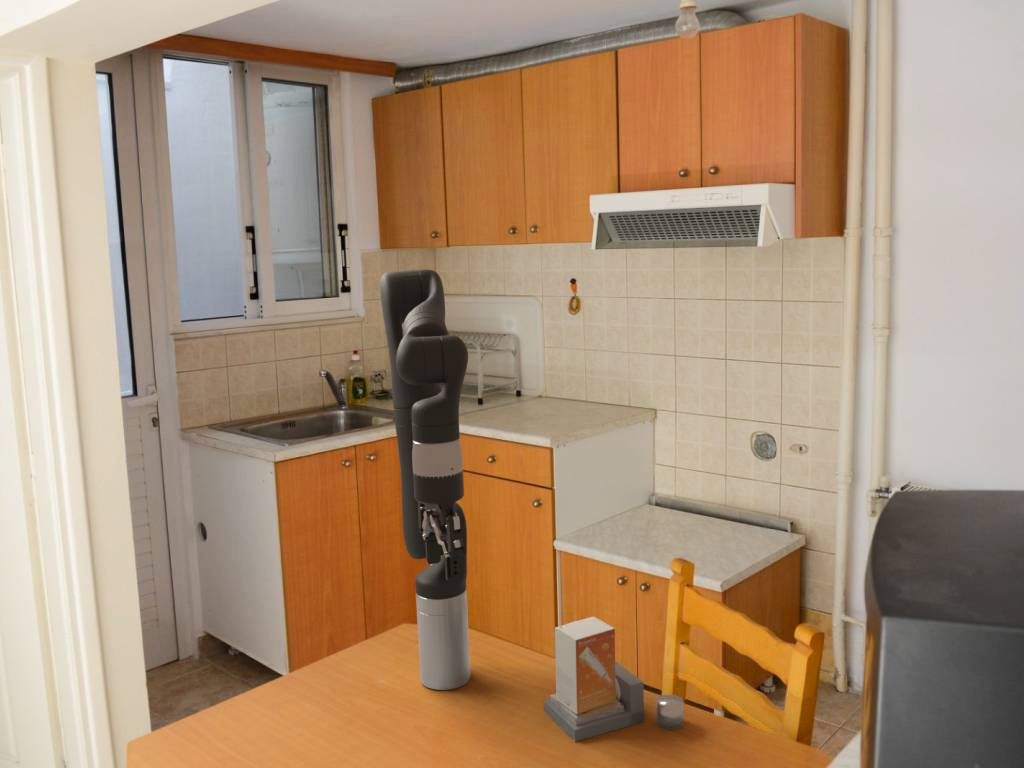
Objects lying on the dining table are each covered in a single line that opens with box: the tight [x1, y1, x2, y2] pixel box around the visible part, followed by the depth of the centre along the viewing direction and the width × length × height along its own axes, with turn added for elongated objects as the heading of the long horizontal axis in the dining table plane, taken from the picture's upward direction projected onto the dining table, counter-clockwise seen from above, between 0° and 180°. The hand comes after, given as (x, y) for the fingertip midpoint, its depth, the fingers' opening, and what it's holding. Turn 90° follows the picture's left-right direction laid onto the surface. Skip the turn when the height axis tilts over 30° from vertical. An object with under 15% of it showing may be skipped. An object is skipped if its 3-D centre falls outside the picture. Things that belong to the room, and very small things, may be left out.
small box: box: [554, 616, 616, 714], centre depth 156 cm, size 8×6×13 cm
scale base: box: [543, 660, 645, 742], centre depth 158 cm, size 11×13×7 cm
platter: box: [549, 693, 624, 726], centre depth 157 cm, size 9×9×1 cm
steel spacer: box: [656, 694, 685, 731], centre depth 155 cm, size 4×4×4 cm
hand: (443, 571), depth 144 cm, fingers open, 8 cm apart
